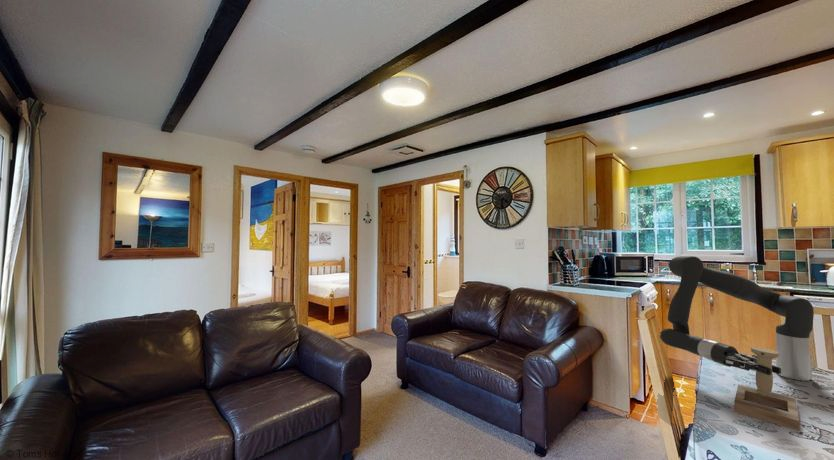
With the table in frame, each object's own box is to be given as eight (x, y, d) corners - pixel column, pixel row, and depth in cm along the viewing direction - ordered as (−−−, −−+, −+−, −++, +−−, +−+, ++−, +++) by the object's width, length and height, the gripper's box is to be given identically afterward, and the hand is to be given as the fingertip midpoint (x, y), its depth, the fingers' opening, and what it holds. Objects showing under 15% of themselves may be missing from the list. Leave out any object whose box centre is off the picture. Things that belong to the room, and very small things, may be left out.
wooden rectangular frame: (738, 392, 121) (738, 384, 121) (795, 407, 111) (795, 398, 111) (734, 411, 108) (734, 402, 108) (799, 430, 98) (799, 420, 98)
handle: (775, 400, 106) (776, 354, 106) (748, 392, 111) (749, 348, 111) (779, 397, 108) (780, 352, 108) (752, 388, 114) (753, 345, 114)
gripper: (702, 343, 122) (759, 361, 105) (731, 341, 125) (791, 358, 108) (702, 363, 122) (759, 385, 105) (731, 360, 125) (791, 381, 108)
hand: (775, 371), depth 107 cm, fingers closed on handle, 3 cm apart
